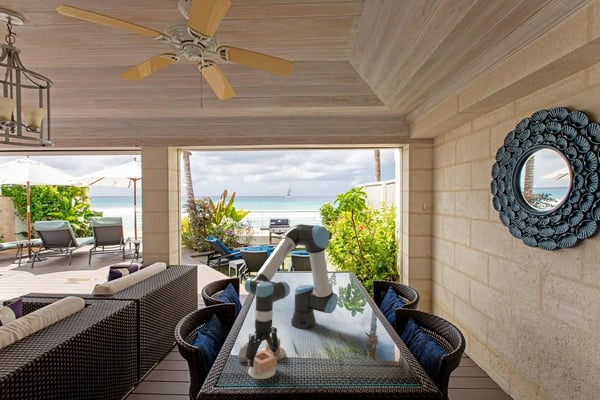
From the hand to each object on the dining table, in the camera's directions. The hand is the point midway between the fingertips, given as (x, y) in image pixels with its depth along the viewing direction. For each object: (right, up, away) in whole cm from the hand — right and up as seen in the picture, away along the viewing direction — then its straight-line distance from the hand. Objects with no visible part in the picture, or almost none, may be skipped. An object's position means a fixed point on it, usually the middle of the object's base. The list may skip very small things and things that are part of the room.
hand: (262, 369), depth 140 cm
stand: (+3, -1, +15) cm, 16 cm away
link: (0, +2, 0) cm, 2 cm away
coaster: (0, -1, 0) cm, 1 cm away
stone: (-8, -1, +11) cm, 14 cm away
